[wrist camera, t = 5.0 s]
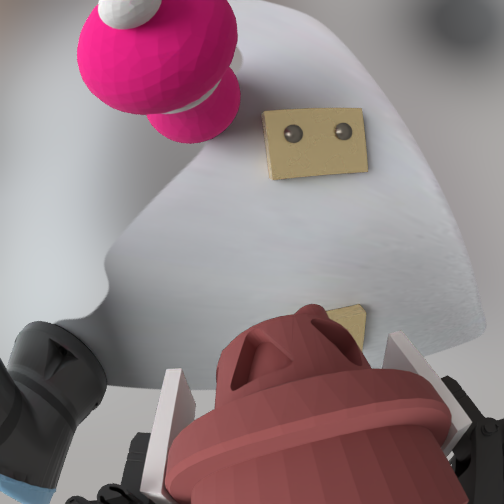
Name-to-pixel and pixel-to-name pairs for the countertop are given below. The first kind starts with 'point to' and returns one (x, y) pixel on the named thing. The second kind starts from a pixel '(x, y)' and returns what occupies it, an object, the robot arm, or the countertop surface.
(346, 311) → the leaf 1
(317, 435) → the mechanical component
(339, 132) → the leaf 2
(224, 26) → the pepper mill
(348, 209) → the countertop surface
